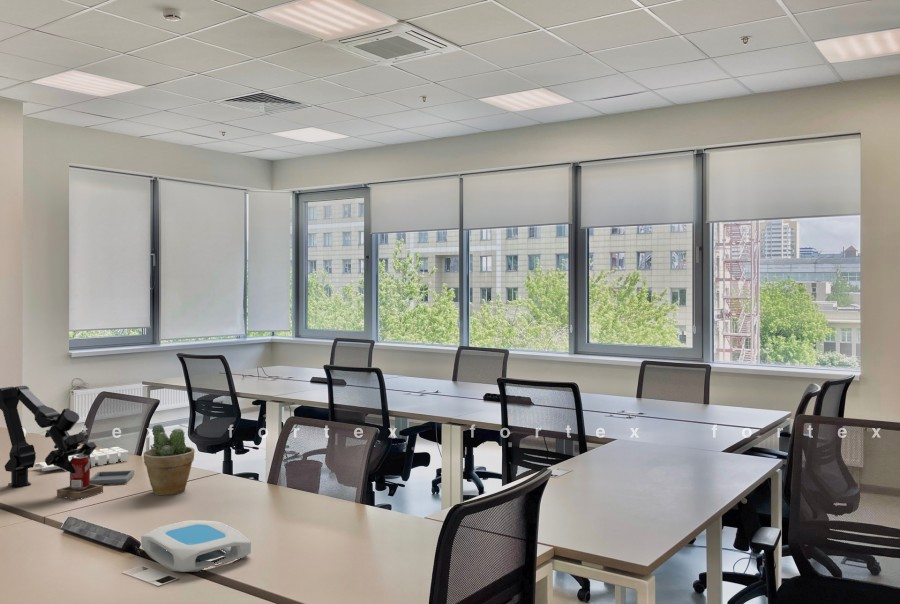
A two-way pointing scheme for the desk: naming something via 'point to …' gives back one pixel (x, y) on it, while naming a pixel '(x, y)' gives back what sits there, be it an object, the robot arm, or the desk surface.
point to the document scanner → (193, 544)
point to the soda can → (80, 472)
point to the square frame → (73, 494)
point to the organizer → (95, 458)
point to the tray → (112, 477)
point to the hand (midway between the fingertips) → (82, 470)
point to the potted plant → (168, 462)
